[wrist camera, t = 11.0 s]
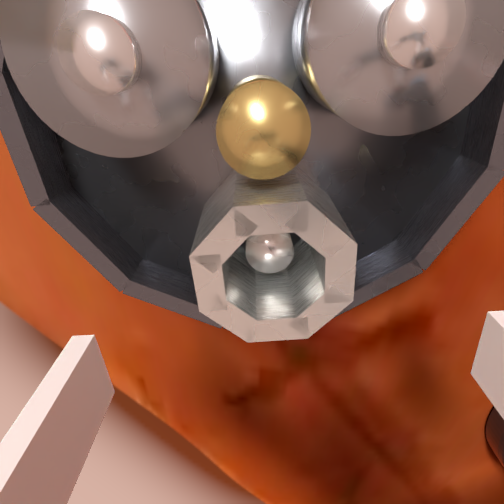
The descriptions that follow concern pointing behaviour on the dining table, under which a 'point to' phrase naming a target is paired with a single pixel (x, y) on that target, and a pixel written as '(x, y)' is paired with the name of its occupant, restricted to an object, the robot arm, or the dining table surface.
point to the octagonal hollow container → (279, 283)
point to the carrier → (251, 124)
